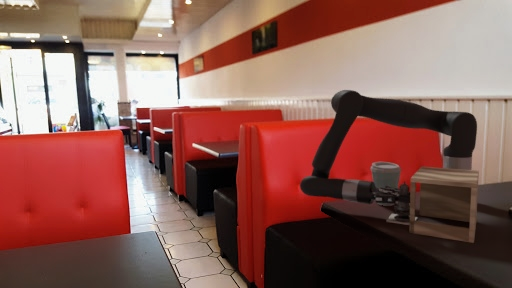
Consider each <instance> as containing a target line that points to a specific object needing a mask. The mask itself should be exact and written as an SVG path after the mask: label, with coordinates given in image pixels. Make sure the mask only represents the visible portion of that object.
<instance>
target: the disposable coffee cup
mask: <svg viewBox="0 0 512 288" xmlns="http://www.w3.org/2000/svg"><path fill="white" fill-rule="evenodd" d="M370 171H371V176H372V182H374V183H375V187H376V188H380V187H385V186H388V187H393V188H398V189H399V185H400V184H399V183H400V176H401V171H402V168H401V167H400V166H399V164H396V163H394V162H388V161H375V162H372V163H371V166H370ZM395 193H396V194H397V193H398V192H395ZM376 204H377V205H379V206H382V205H383V207H391V206H395V204H392V203H376Z"/></svg>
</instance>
